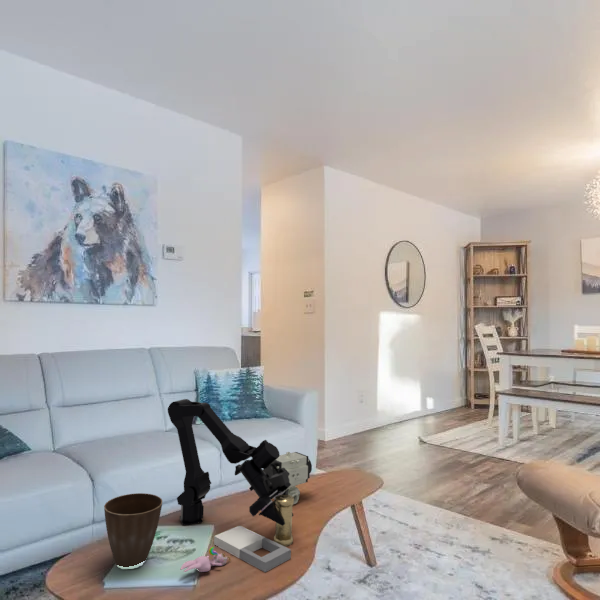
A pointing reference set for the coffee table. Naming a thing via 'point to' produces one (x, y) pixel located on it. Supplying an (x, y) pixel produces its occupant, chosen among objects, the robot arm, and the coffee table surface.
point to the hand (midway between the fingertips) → (288, 520)
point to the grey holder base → (252, 548)
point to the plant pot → (132, 526)
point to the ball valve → (292, 470)
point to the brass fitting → (285, 511)
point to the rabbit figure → (206, 562)
